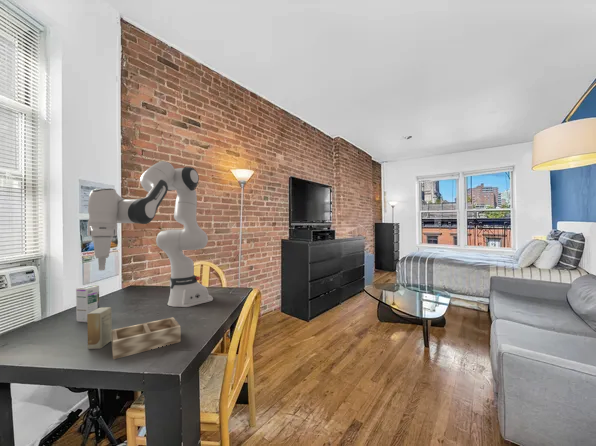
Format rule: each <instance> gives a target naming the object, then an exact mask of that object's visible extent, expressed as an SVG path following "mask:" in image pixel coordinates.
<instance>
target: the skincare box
mask: <svg viewBox="0 0 596 446" xmlns="http://www.w3.org/2000/svg"><path fill="white" fill-rule="evenodd" d="M112 320H113V319H112V307H110V306H109V307H106V306H105V307H99V308H97V309H95V310H93V311H92V312H90V313H88V314H87V322H86V323H87V350H94V349H95V350H96V349H98V350H99V349H102V348H103V347H105V346H106V345H107V344H109V343H110V342H112V330H113V329H112V328H113V327H112V325H113V324H112V322H113V321H112Z"/></svg>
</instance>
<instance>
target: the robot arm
mask: <svg viewBox="0 0 596 446" xmlns="http://www.w3.org/2000/svg"><path fill="white" fill-rule="evenodd" d="M199 177H200V176H199V174H198V171H197V170H196V169H195V168H194V167H191V166H190V167H188V166H186V167H177V168H175V167H174V166H173V164H171V163H170V162H168V161H164V160H162V161H161V160H160V161H158V162H156V163H154V164H152V165H151V166H150V167H148V168H147V169H146V170H145V171H144V172H143V173H142V174H141V176H140V178H139V182H140V185H141V187H142V188H143V190H144V191H145V192H147V194H146V196H145V197H143V198H142V197H141V198H137V199H136V198H134V199H131V198H130V199H125V198H123V197H122V196H121V195H119V194H118V193H117V189H114V188H109V187H108V188H95V189H92V190H91V191H90V193H89V196H88V203H87V204H88V206H87V213H88V216H89V217H88V219H87V220H88V221H87V237H91V241H92V242H93V251H94V252H93V253H94V257H95V259H97V260H98V261H97V262H98V271H101V272H102V271H105V270H106V260H107V259H108V258H109V257H110V252H111V245H112V241H113V240H114V237H115V236H118V224H140V225H147V224H149V223H151V222H152V221H153V219H155V216H156V215H157V210H158V208H159V207H160V205H161V204H162V202H163V200H164V199H165V197H166V195H167V193H168V192H171V191H176V199H175V203H174V210H173V211H174V213H173V219H174V220H175V221H176V222H177V223H179V224H180V225H182V226H183V228H182V229H165V230H161V231H159V232H158V233H157V236H156V240H155V243H156V245H157V247H158V248H159V249H160V250H162V252H164V253H165V254H166V256H167V258H168V260H169V264H170V277H169V288H170V293H169V297H168V302H167V305H168V307H169V306H170V307H174V308H175V307H176V308H177V307H180V308H181V307H182V308H189V307H194V306H196V305H197V306H198V305H200V304H204V303H208V302H209V303H210V302H212V301H213V300H214V298H213V296H212V295H211V294H209V291H208V288H207V287H206V286H205V285H203V284H201V283H200V282H198V281H200V280H201V277H200V276H199V275H195V274H194V273H195V272H194V271H195V268H194V267H195V264H194V260H193V259H192V258H191V257H189V256H188V255H186V254H184V252H183V251H196V250H201V249H205V248H206V246H207V244H208V242H209V237H208V234H207V233H206V232H205V230H203V229H202V228H201V227H200V226H199V224H198V221H197V208H198V196H197V191H196V189H197V186H198V184H199V180H200V178H199Z"/></svg>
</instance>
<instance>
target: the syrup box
mask: <svg viewBox="0 0 596 446" xmlns="http://www.w3.org/2000/svg"><path fill="white" fill-rule="evenodd" d="M75 292H76V293H75V295H76V296H75V299H76V300H75V302H76V305H75V306H76V308H75V309H76V322H79V323H80V322H82V323H87V314H88V313H90V312H92V311H93V310H95V309H97V308H100V286H99V285H96V284H91V285H86V286H81V287H77V288H76V289H75Z"/></svg>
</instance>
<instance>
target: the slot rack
mask: <svg viewBox="0 0 596 446" xmlns="http://www.w3.org/2000/svg"><path fill="white" fill-rule="evenodd" d="M181 330H182V329H181V325H180V324H179V322H178V321H177V320H176V319H175V317H173V316H172V317H167V318H162V319H159V320H158V319H157V320H153V321H148V322H144V323H138V324H135V325H130V326H129V325H128V326H124V327H120V328H119V327H118V328H114V329H112V340H111V352H112V360H118V359H120V358H125V357H128V356H132V355H136V354H140V353H142V352H143V353H144V352H147V351H151V349H152V350H154V349H159V348H162V346H163V347H167V346H171V345H174V344H178V343H181V342H182V341H181V339H182V338H181V336H182V335H181V333H182V331H181ZM170 344H171V345H170ZM166 345H167V346H166ZM158 347H159V348H158Z"/></svg>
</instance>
